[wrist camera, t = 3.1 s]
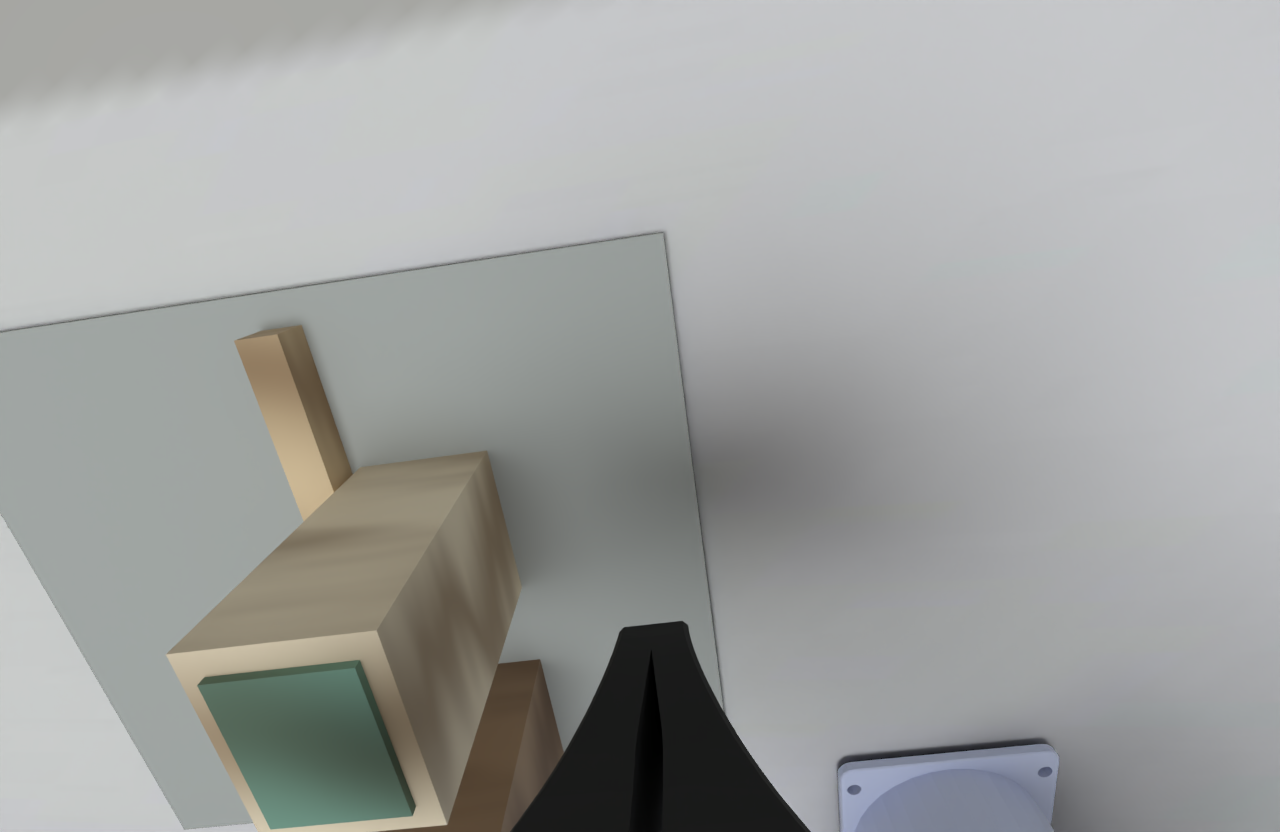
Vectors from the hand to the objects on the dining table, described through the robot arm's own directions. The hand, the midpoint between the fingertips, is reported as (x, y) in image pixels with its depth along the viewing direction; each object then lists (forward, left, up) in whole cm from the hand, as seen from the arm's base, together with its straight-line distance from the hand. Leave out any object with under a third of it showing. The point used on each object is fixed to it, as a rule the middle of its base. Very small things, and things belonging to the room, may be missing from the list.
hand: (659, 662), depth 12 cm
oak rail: (-2, +10, -7) cm, 12 cm away
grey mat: (-2, +10, -7) cm, 12 cm away
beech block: (0, +7, -7) cm, 10 cm away
